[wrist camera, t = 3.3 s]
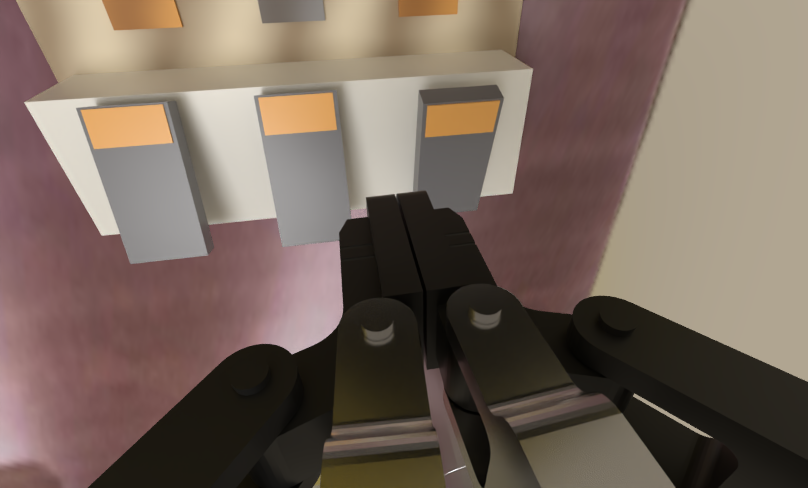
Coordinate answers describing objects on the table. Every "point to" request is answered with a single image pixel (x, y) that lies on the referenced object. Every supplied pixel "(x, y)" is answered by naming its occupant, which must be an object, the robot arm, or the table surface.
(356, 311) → the robot arm
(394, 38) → the chart board
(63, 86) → the switch box
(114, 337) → the table surface
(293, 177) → the switch middle
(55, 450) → the table surface
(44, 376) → the table surface
